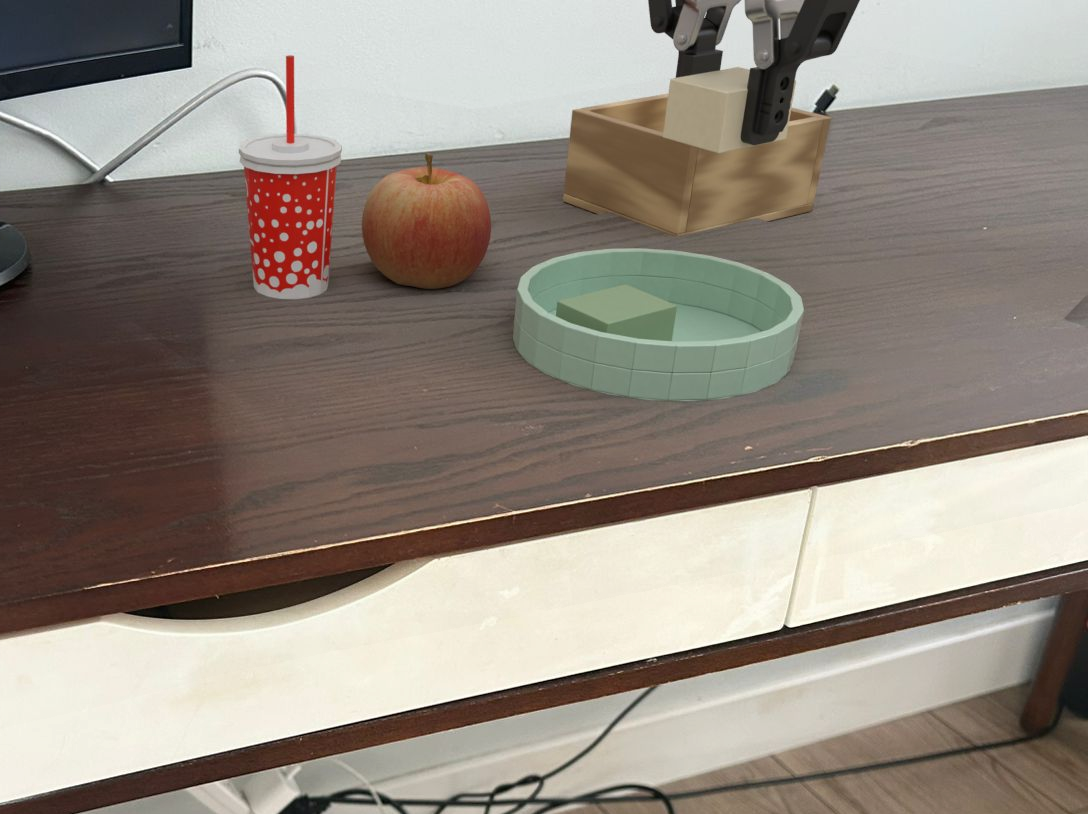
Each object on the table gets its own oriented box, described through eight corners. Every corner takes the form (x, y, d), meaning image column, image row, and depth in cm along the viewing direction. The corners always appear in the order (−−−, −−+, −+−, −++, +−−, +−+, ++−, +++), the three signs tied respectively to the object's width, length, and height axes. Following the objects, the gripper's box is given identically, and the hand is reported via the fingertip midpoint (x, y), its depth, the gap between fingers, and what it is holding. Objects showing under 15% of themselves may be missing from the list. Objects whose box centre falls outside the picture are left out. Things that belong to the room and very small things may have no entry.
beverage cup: (285, 270, 89) (283, 41, 81) (359, 290, 86) (365, 54, 78) (222, 295, 85) (214, 58, 77) (297, 318, 82) (297, 72, 74)
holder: (694, 174, 107) (708, 86, 104) (812, 211, 99) (831, 117, 95) (562, 201, 101) (571, 109, 98) (675, 243, 93) (690, 144, 89)
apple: (362, 261, 90) (365, 137, 86) (484, 263, 90) (493, 139, 85) (358, 304, 84) (360, 172, 79) (489, 307, 83) (499, 174, 79)
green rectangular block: (618, 334, 78) (625, 283, 76) (669, 357, 75) (677, 305, 73) (551, 352, 76) (556, 300, 74) (601, 377, 73) (607, 323, 71)
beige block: (728, 124, 75) (737, 66, 73) (786, 139, 72) (796, 79, 70) (662, 137, 73) (669, 78, 71) (718, 153, 70) (728, 92, 68)
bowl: (652, 288, 86) (660, 233, 84) (850, 369, 75) (864, 307, 73) (458, 336, 79) (462, 278, 77) (645, 433, 68) (655, 368, 66)
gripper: (971, -251, 59) (884, 151, 69) (724, -252, 70) (677, 98, 79) (855, -247, 56) (780, 175, 65) (614, -249, 66) (579, 116, 76)
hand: (724, 131), depth 72 cm, fingers closed on beige block, 4 cm apart
